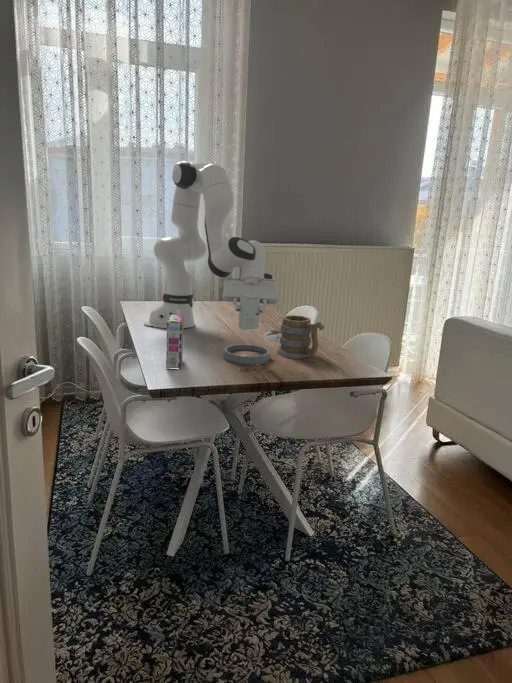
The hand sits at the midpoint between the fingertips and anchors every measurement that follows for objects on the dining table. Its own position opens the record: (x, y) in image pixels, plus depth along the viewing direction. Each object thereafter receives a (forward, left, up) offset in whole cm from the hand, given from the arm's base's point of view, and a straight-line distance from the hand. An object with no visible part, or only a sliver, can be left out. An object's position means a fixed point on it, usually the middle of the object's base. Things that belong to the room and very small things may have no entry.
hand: (249, 311), depth 184 cm
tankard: (+20, +8, -18) cm, 28 cm away
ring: (+15, +37, -18) cm, 44 cm away
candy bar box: (-24, -12, -18) cm, 32 cm away
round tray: (0, +1, -18) cm, 18 cm away
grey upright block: (0, +1, -7) cm, 7 cm away
